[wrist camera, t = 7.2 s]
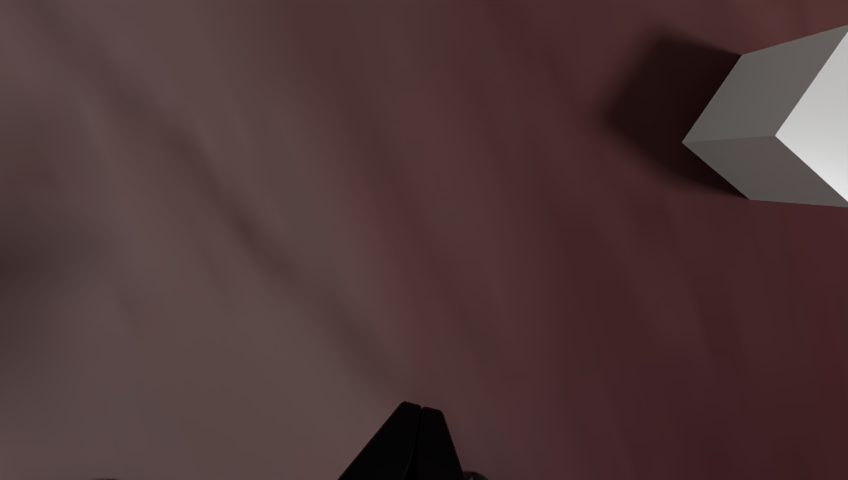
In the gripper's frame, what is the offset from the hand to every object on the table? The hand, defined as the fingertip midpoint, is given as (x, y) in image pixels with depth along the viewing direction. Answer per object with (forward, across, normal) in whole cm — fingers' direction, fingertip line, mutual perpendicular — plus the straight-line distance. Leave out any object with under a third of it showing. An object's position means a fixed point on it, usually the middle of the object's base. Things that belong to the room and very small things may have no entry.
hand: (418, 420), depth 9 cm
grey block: (+18, -13, -6) cm, 23 cm away
